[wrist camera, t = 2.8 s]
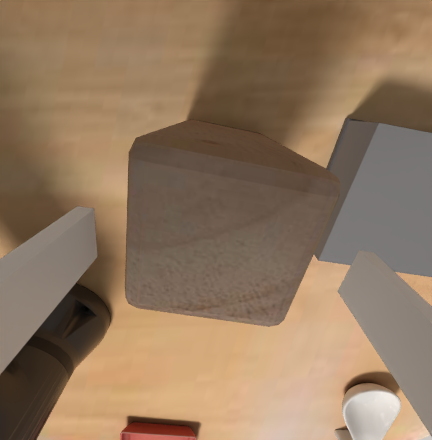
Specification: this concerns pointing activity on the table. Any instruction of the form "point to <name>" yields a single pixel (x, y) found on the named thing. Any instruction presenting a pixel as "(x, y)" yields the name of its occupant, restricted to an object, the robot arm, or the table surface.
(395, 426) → the table surface
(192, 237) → the wooden block
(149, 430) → the plant saucer
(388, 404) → the spoon rest
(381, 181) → the charcoal base block
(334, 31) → the table surface
